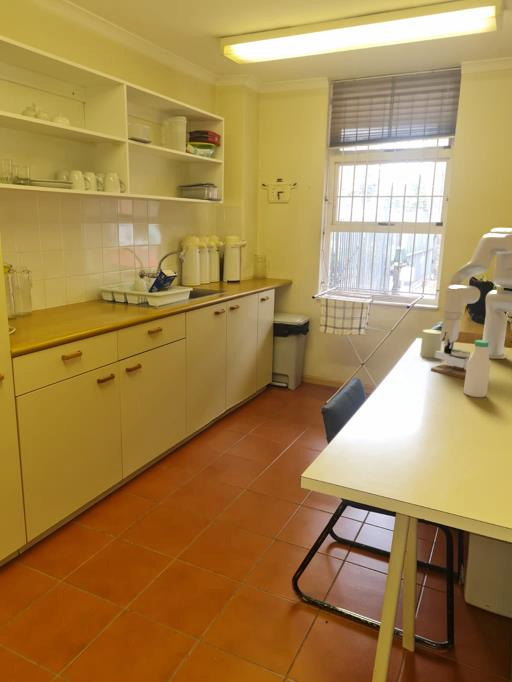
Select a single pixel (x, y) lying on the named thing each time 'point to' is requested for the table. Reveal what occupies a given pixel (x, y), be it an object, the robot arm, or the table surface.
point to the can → (430, 343)
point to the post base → (450, 370)
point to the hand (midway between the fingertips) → (447, 356)
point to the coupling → (454, 360)
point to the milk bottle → (477, 371)
